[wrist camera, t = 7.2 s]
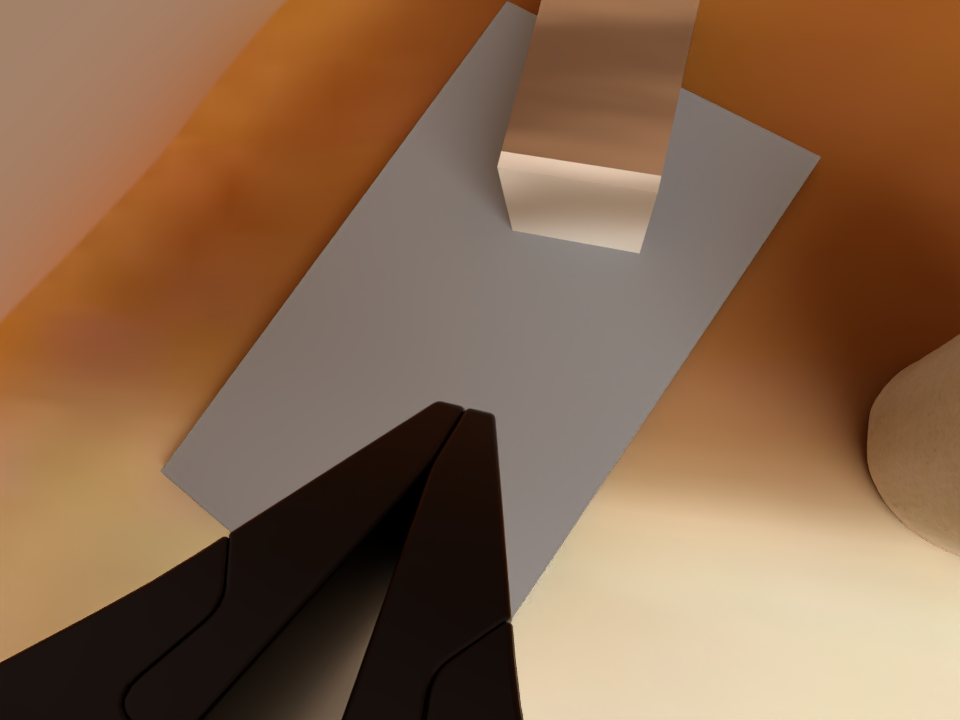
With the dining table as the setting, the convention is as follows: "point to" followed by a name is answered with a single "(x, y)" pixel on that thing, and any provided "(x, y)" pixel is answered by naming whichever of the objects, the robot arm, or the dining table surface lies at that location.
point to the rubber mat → (491, 313)
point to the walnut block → (595, 118)
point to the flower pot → (921, 446)
